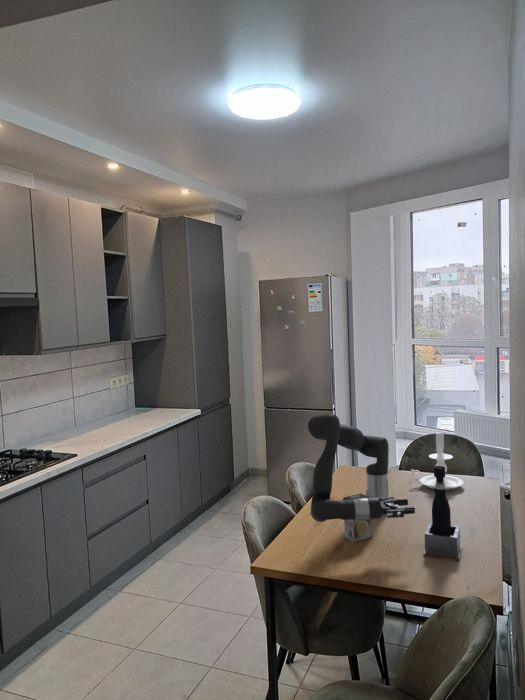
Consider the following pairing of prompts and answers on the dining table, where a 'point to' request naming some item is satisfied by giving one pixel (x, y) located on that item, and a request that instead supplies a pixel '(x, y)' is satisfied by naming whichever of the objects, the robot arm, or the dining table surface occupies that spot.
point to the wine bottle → (440, 505)
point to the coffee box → (358, 525)
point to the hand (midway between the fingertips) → (411, 505)
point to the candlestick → (440, 457)
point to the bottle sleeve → (443, 544)
